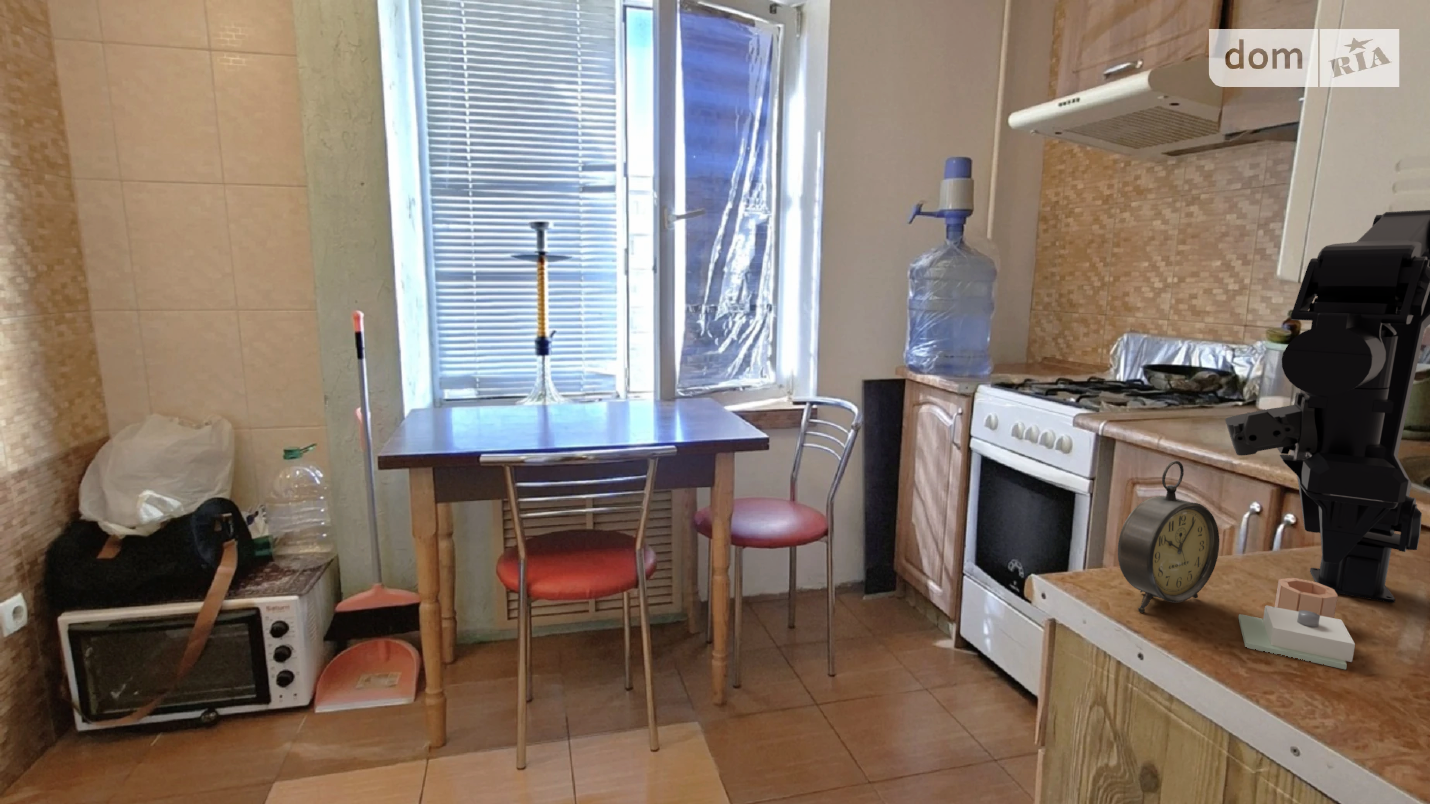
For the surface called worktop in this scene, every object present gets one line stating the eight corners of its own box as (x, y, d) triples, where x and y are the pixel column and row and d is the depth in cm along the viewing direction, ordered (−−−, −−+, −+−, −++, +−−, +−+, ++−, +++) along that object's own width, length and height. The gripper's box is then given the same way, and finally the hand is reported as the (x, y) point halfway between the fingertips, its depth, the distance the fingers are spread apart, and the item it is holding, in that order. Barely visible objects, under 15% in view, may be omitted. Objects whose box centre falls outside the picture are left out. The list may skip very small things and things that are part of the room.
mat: (1238, 618, 75) (1238, 613, 75) (1330, 636, 71) (1331, 632, 71) (1245, 647, 69) (1246, 642, 69) (1346, 669, 65) (1346, 664, 65)
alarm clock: (1146, 621, 74) (1163, 472, 71) (1101, 599, 79) (1116, 459, 76) (1215, 603, 78) (1234, 461, 75) (1169, 583, 83) (1185, 450, 80)
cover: (1262, 621, 73) (1266, 596, 73) (1338, 636, 70) (1342, 610, 70) (1270, 644, 69) (1274, 618, 68) (1351, 662, 65) (1356, 634, 65)
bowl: (1272, 604, 78) (1276, 575, 77) (1326, 615, 76) (1331, 584, 75) (1278, 622, 74) (1283, 590, 73) (1335, 633, 72) (1340, 601, 71)
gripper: (1229, 367, 77) (1211, 505, 79) (1248, 390, 61) (1225, 561, 64) (1365, 375, 71) (1341, 523, 74) (1425, 402, 55) (1391, 589, 58)
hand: (1320, 546), depth 67 cm, fingers open, 9 cm apart
